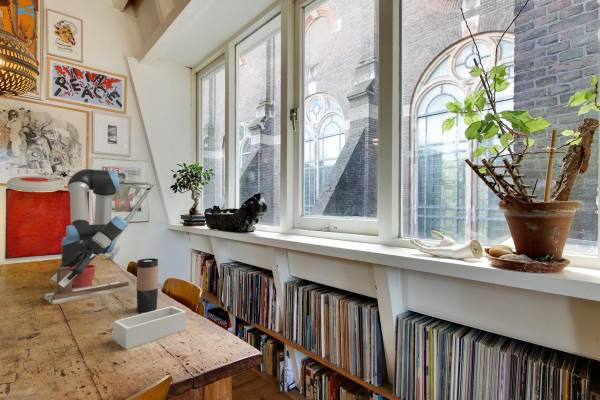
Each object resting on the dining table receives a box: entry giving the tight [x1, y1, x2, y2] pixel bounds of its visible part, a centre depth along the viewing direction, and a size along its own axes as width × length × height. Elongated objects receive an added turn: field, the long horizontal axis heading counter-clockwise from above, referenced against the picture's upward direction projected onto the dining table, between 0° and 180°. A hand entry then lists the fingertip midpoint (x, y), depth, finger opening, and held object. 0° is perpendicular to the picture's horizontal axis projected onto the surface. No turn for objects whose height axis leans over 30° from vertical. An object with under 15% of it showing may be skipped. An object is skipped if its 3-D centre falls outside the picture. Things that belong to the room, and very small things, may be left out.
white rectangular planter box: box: [113, 305, 188, 350], centre depth 103 cm, size 9×19×6 cm, turn 140°
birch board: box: [43, 280, 130, 306], centre depth 147 cm, size 14×30×4 cm, turn 140°
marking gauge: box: [53, 267, 74, 295], centre depth 138 cm, size 7×6×12 cm
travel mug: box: [136, 257, 159, 314], centre depth 127 cm, size 8×8×20 cm
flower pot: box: [71, 264, 96, 288], centre depth 162 cm, size 11×11×10 cm
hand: (56, 283), depth 136 cm, fingers open, 11 cm apart
